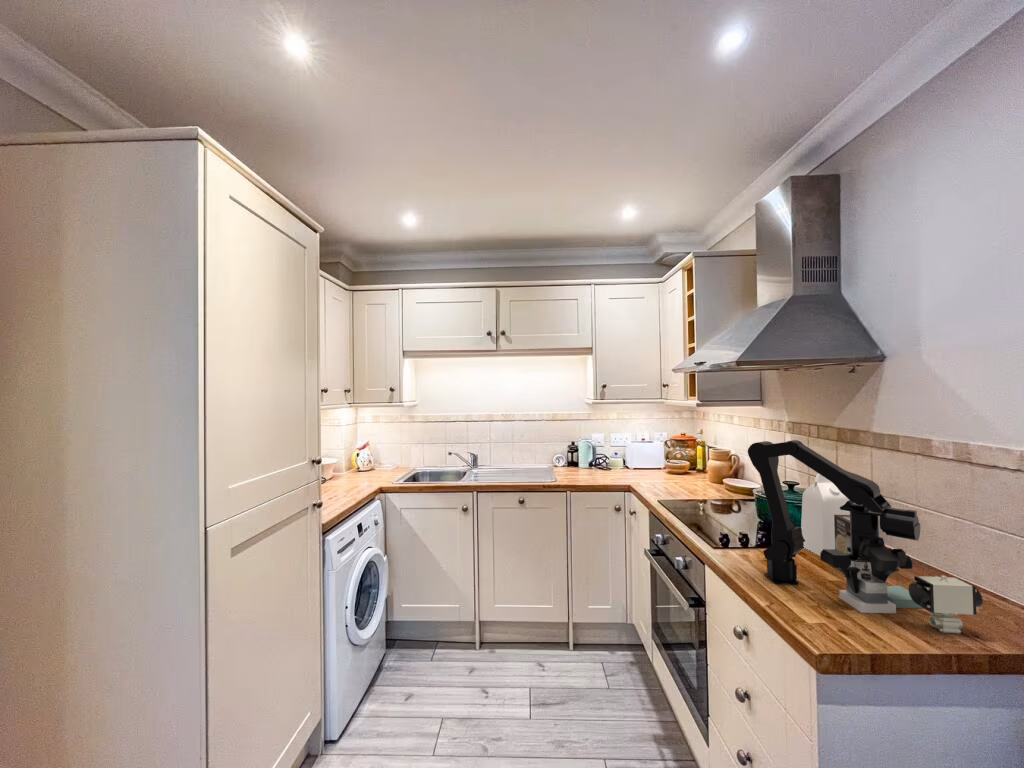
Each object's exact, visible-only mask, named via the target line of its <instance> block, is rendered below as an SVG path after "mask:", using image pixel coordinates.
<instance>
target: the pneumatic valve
mask: <svg viewBox="0 0 1024 768" xmlns="http://www.w3.org/2000/svg"><path fill="white" fill-rule="evenodd" d="M908 590H909V594H910V597H911V599H912V600H913V601H914V602H915V603H916V604H918V605H919V606H921V607H923V608H922V609H924V610H926V611H927V612H930V613H929V614H930V615H929V617H928V623H929V624H930V626H932V627H933V628H935V629H938V631H939V632H941V633H943V634H957V635H959V634H961V633H962V631H961V629H962V628H963V627H964V625H963V622H962V620H961V618H959V617H957V616H958V615H971V616H972V615H974V616H976V615H977V610H978V608H980V607H981V606H982V605H983V602H984V601H983V596H982V594H981V592H980V590H979V589H978V588H977V587H976V586H975V585H973V584H971V583H969V582H968V581H965V580H963V579H961V578H959V577H951V576H950V577H949V576H946V575H940V576H938V575H935V576H931V575H929V576H928V575H927V576H925V575H924V576H923V575H922V576H921V575H920V576H919V575H914V580H913V582H911V583H910V584H908Z"/></svg>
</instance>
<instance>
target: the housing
mask: <svg viewBox="0 0 1024 768" xmlns="http://www.w3.org/2000/svg"><path fill="white" fill-rule="evenodd" d="M845 580H846V581H845V582H846V588H845V589H846V590H847V592H849V593H851V594H852V595H854V596H855V597H857V598H858V599H860V600H862V601H863V602H865V603H867V604H888V596H887V586H888V583H887V582H884V581H882V580H881V579H879V578H877V577H875V576H873V575H871V574H869V573H868V572H858V574H857V580H858V592H857V594H856V593H854V592H853V591H852V589H851V587H850V585H849V583H848V581H847V579H846V578H845Z"/></svg>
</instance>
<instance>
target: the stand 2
mask: <svg viewBox="0 0 1024 768" xmlns="http://www.w3.org/2000/svg"><path fill="white" fill-rule="evenodd" d="M887 596H888V601H890V602H892V603H893V604H895V605H896V609H898V608H899V609H901V608H902V609H905V608H906V609H924V608H923V607H921V606H919V605H918V604H916V603H915V602H914V601H913V600H912V599H911V597H910V594H909V589H907V588H905V587H904V586H901V585H887Z"/></svg>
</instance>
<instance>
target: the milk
mask: <svg viewBox="0 0 1024 768" xmlns="http://www.w3.org/2000/svg"><path fill="white" fill-rule="evenodd" d="M801 499H802V500H801V519H800V521H801V523H800V525H801V526H800V527H801V529H802V535H803V538H804V539H805V542H803V544H804V546H803V547H804V548H803V549H805V548H806V549H805V550H807V549H808V550H807V551H809V550H810V551H811V553H812V552H813V553H812V554H814V553H815V554H814V555H816V554H817V555H816V556H818V555H819V556H818V557H820V553H821V551H822V550H823V549H835V528H834V515H850V511H845V510H841V509H840V507H841V506H843V505H844V504H845V503H846V502H847V501H849V499H848V498H847V497H846V496H845V495H843V494H842V493H841V492H840V491H839V489H838V488H837V487H836V486H835V485H834V484H833V483H832V482H831V481H829V480H828V479H826V478H825V477H823V476H822V475H820V474H819V473H816V475H815V479H814V482H812V483H811V484H810V485H809V486H808V487H807V488H806V489H805V490H804V491H803V493H802V498H801ZM854 504H855V503H854ZM810 551H809V552H810Z"/></svg>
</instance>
